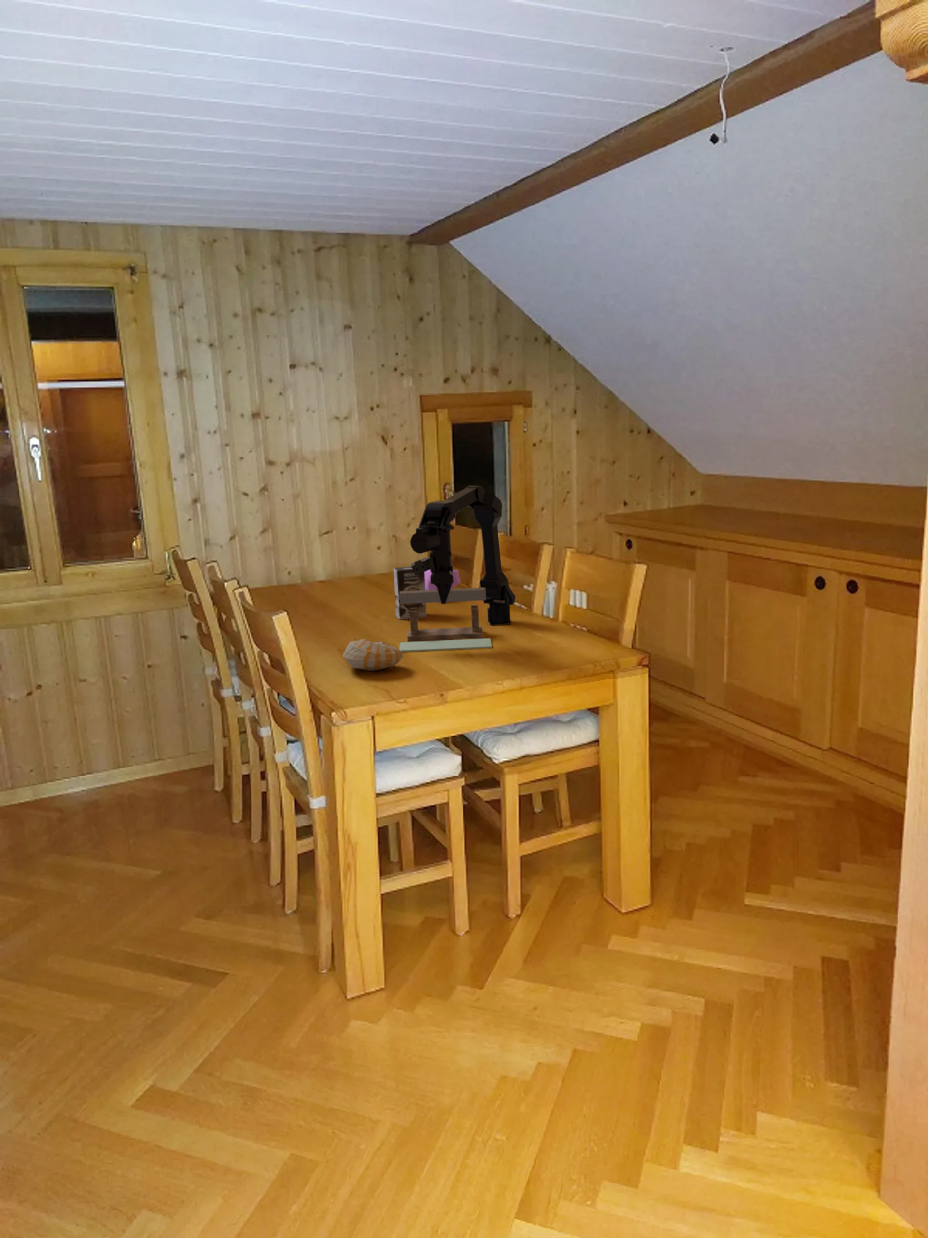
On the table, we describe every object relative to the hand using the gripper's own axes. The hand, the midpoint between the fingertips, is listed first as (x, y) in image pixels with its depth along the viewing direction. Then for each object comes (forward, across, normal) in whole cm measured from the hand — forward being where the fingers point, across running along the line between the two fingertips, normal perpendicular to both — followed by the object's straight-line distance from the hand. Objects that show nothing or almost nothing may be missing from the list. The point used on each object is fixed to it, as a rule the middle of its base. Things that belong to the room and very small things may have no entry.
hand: (443, 602), depth 263 cm
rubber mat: (+13, 0, 0) cm, 13 cm away
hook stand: (+13, -11, 0) cm, 17 cm away
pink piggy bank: (+13, -67, -3) cm, 68 cm away
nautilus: (+13, +17, -20) cm, 29 cm away
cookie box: (+13, -39, -11) cm, 42 cm away
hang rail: (0, 0, 0) cm, 1 cm away
